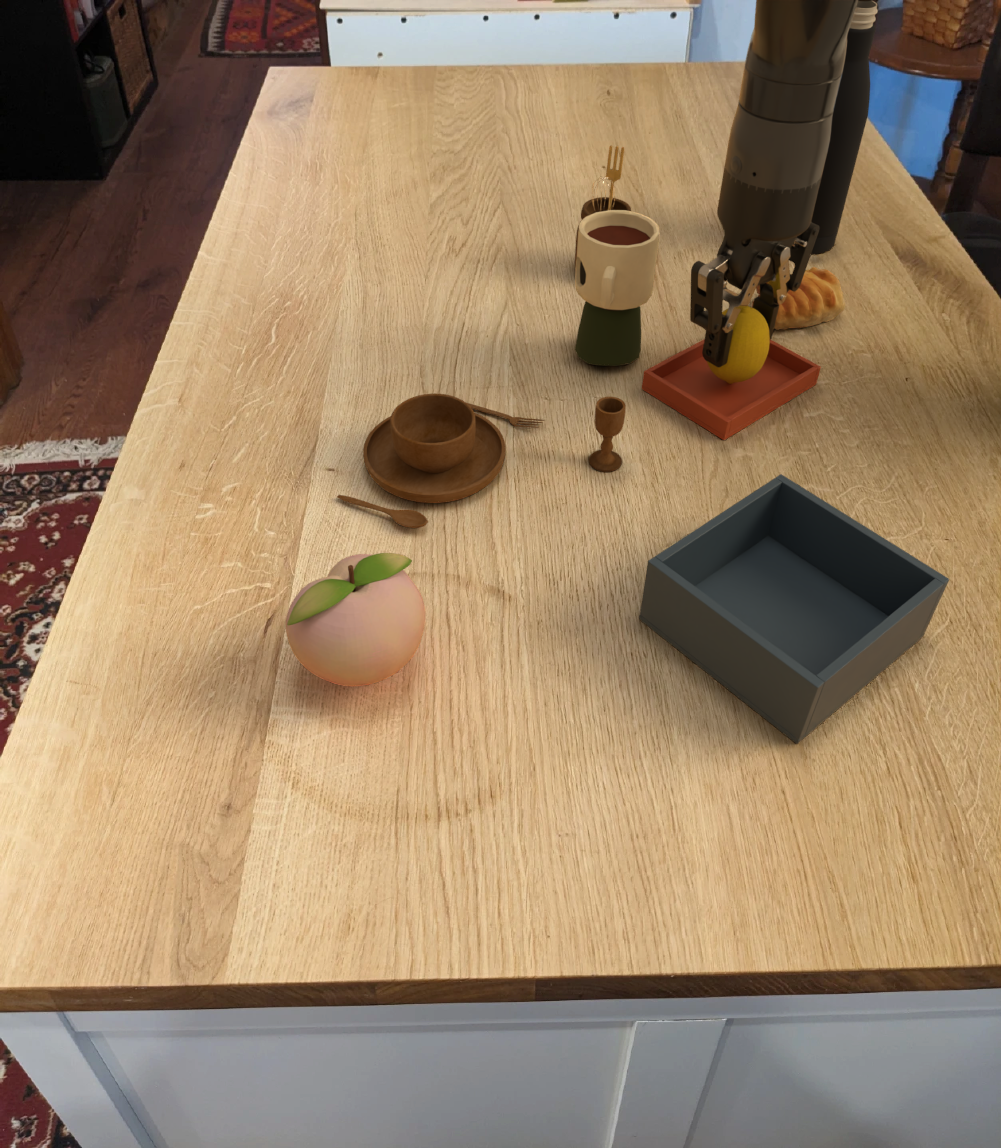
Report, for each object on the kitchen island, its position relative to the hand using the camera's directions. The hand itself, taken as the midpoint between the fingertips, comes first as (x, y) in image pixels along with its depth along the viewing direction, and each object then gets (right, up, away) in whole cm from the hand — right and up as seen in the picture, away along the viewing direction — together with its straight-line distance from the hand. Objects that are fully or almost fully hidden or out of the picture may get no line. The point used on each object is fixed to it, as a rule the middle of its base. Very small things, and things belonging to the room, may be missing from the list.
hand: (737, 349), depth 91 cm
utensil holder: (-10, +12, +18) cm, 24 cm away
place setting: (-23, -12, -6) cm, 27 cm away
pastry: (+9, +6, +12) cm, 16 cm away
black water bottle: (+13, +17, +23) cm, 31 cm away
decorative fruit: (-30, -27, -20) cm, 46 cm away
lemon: (0, -3, +3) cm, 4 cm away
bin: (-1, -24, -18) cm, 30 cm away
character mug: (-11, +1, +7) cm, 13 cm away
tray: (0, -3, +3) cm, 4 cm away
